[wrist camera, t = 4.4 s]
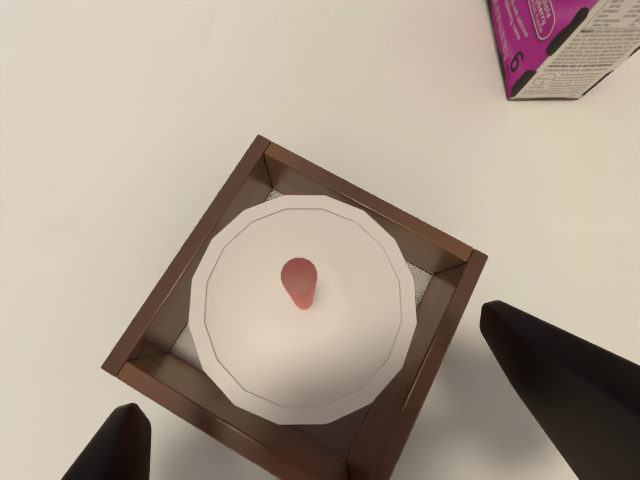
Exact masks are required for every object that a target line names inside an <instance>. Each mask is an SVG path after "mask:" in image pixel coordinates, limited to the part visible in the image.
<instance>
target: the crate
mask: <svg viewBox="0 0 640 480" xmlns="http://www.w3.org/2000/svg"><path fill="white" fill-rule="evenodd" d="M272 188H273V189H275V190H277V191H278V192H280V193H282V194H284V195H325V196H328V197H330V198H333V199H335V200H338V201H341V202H343V203H346V204H348V205H351V206H353V207H356V208H358V209H361V210H363V211H365V212H366V213H367V214H368V215H369V216H370V217H371V218H372V219H373V220H374V221H375V222H377V223H378V224H379V225H380V226H381V227H382V228H383V229H384V230H385V231H386V232H387V233H388V234H389V235H391V236H392V237H393V238H394V239H395V241H396V243H397V245H398V247H399V249H400V251H401V253H402V255H403V257H404V260H406V261H408V262H410V263H411V264H413V265H415V266H417V267H419V268H421V269H423V270H424V271H426V272H428V273H430V274H432V275H434V276H433V278H432V280H431V282H430V284H429V286H428V288H427V291H426V293H425V295H424V297H423V299H422V301H421V303H420V305H419V307H418V309H417V312H416V320H417V324H416V327H415V330H414V333H413V337H412V340H411V343H410V346H409V349H408V352H407V355H406V358H405V361H404V364H403V367H402V368H401V370H400V371H399V372H398V373H397V374H396V375H395V377H394V378H393V379H392V380H391V381H390V382H389V383H388V385H387V386H386V387H385V388H384V389H383V390H382V391H381V393H380V394H379V395H378V396H377V397H376V398H375V400H374V402H373V404H372V406H371V408H370V410H369V412H368V414H367V417H366V419H365V421H364V423H363V425H362V427H361V429H360V431H359V433H358V435H357V438H356V440H355V442H354V444H353V446H352V448H351V450H350V452H349V454H348V456H347V459H346V461H345V459H344V458H342V457H341V456H339V455H337V454H336V453H334V452H332V451H331V450H329V449H327V448H326V447H324V446H322V445H321V444H319V443H317V442H316V441H314V440H313V439H311V438H309V437H308V436H306V435H304V434H303V433H301V432H299V431H298V430H296V429H294V428H293V427H291V426H289V425H278V424H276V423H274V422H272V421H269V420H267V419H265V418H263V417H260V416H258V415H256V414H253V413H251V412H249V411H247V410H244V409H242V408H240V407H238V406H235V405H234V404H233V403H232V402H231V400H230V399H229V398H228V397H227V396H226V395H225V394H224V393H223V392H222V390H221V389H220V388H219V387H218V386H217V385H216V384H215V383H214V381H213V380H212V379H211V378H210V377H209V376H207V375H205V374H204V373H202V372H200V371H199V370H197V369H195V368H194V367H192V366H190V365H189V364H187V363H185V362H184V361H182V360H181V359H179V358H177V357H176V356H174V355H172V354H171V353H168V352H169V351H170V349H171V347H172V346H173V344H174V343H175V341H176V339H177V338H178V336H179V335H180V333H181V332H182V330H183V328H184V327H185V325H186V324H187V322H188V321H189V310H190V297H191V285H192V278H193V276H194V274H195V272H196V270H197V268H198V266H199V264H200V262H201V260H202V258H203V256H204V254H205V252H206V250H207V248H208V246H209V244H210V242H211V240H212V239H213V238H214V237H215V236H216V235H217V234H218V233H219V232H220V231H222V230H223V229H224V228H225V227H226V226H227V225H228V224H229V223H230V222H232V221H233V220H234V219H235V218H236V217H237V216H238V215H239V214H240V213H242V212H243V211H244V210H246V209H248V208H251V207H254V206H256V205H259V204H262V203H263V202H264V201H265V199H266V198H267V196H268V195H269V193H270V191H271V190H272ZM487 259H488V256H487V255H485V254H484V253H482V252H480V251H478V250H476V249H473V248H472V247H471V246H469V245H467V244H465V243H463V242H461V241H459V240H457V239H455V238H454V237H452V236H450V235H448V234H446V233H444V232H442V231H440V230H438V229H437V228H435V227H433V226H431V225H429V224H427V223H425V222H423V221H421V220H419V219H418V218H416V217H414V216H412V215H410V214H408V213H406V212H404V211H402V210H401V209H399V208H397V207H395V206H393V205H391V204H389V203H387V202H385V201H383V200H382V199H380V198H378V197H376V196H374V195H372V194H370V193H368V192H366V191H365V190H363V189H361V188H359V187H357V186H355V185H353V184H351V183H349V182H347V181H346V180H344V179H342V178H340V177H338V176H336V175H334V174H332V173H330V172H329V171H327V170H325V169H323V168H321V167H319V166H317V165H315V164H313V163H312V162H310V161H308V160H306V159H304V158H302V157H300V156H298V155H296V154H294V153H293V152H291V151H289V150H287V149H285V148H283V147H281V146H279V145H277V144H276V143H274V142H271V141H270V140H268V139H266V138H264V137H263V136H261V135H257V137H256V138H255V140H254V141H253V143H252V144H251V146H250V147H249V149H248V150H247V151H246V153H245V154H244V156H243V157H242V159H241V160H240V162H239V163H238V165H237V166H236V168H235V169H234V171H233V172H232V174H231V175H230V177H229V178H228V180H227V181H226V183H225V184H224V186H223V187H222V189H221V190H220V192H219V193H218V194H217V196H216V197H215V199H214V200H213V202H212V203H211V205H210V206H209V208H208V209H207V211H206V212H205V214H204V215H203V217H202V218H201V220H200V221H199V223H198V224H197V226H196V227H195V229H194V230H193V232H192V233H191V234H190V236H189V237H188V239H187V240H186V242H185V243H184V245H183V246H182V248H181V249H180V251H179V252H178V254H177V255H176V257H175V258H174V260H173V261H172V263H171V264H170V266H169V267H168V269H167V270H166V272H165V273H164V274H163V276H162V277H161V279H160V280H159V282H158V283H157V285H156V286H155V288H154V289H153V291H152V292H151V294H150V295H149V297H148V298H147V300H146V301H145V303H144V304H143V306H142V307H141V309H140V310H139V312H138V313H137V315H136V316H135V317H134V319H133V320H132V322H131V323H130V325H129V326H128V328H127V329H126V331H125V332H124V334H123V335H122V337H121V338H120V340H119V341H118V343H117V344H116V346H115V347H114V349H113V350H112V352H111V353H110V355H109V356H108V357H107V359H106V360H105V362H104V363H103V365H102V366H101V369H103V370H105V371H106V372H108V373H109V374H111V375H113V376H114V377H117V378H118V379H119V380H121V381H123V382H124V383H126V384H127V385H129V386H131V387H132V388H134V389H135V390H137V391H139V392H140V393H142V394H143V395H145V396H147V397H148V398H150V399H151V400H153V401H155V402H156V403H158V404H159V405H161V406H163V407H164V408H166V409H167V410H169V411H171V412H172V413H174V414H175V415H177V416H179V417H180V418H182V419H184V420H185V421H187V422H188V423H190V424H192V425H193V426H195V427H196V428H198V429H200V430H201V431H203V432H204V433H206V434H208V435H209V436H211V437H212V438H214V439H216V440H217V441H219V442H220V443H222V444H224V445H225V446H227V447H228V448H230V449H232V450H233V451H235V452H236V453H238V454H240V455H241V456H243V457H244V458H246V459H248V460H249V461H251V462H252V463H254V464H256V465H257V466H259V467H261V468H262V469H264V470H265V471H267V472H269V473H270V474H272V475H273V476H275V477H277V478H278V479H280V480H390V478H391V476H392V473H393V471H394V469H395V467H396V464H397V462H398V460H399V458H400V455H401V453H402V451H403V448H404V446H405V444H406V442H407V439H408V437H409V435H410V433H411V430H412V428H413V426H414V424H415V421H416V419H417V417H418V415H419V412H420V410H421V408H422V406H423V403H424V401H425V399H426V396H427V394H428V392H429V390H430V387H431V385H432V383H433V381H434V378H435V376H436V374H437V372H438V369H439V367H440V365H441V363H442V360H443V358H444V356H445V354H446V351H447V349H448V347H449V344H450V342H451V340H452V338H453V335H454V333H455V331H456V329H457V326H458V324H459V322H460V320H461V317H462V315H463V313H464V311H465V308H466V306H467V304H468V301H469V299H470V297H471V295H472V292H473V290H474V288H475V286H476V283H477V281H478V279H479V277H480V274H481V272H482V270H483V268H484V265H485V263H486V261H487Z"/></svg>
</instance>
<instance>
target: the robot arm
mask: <svg viewBox="0 0 640 480" xmlns="http://www.w3.org/2000/svg"><path fill="white" fill-rule="evenodd" d="M480 330H481V333H482V335H483V337H484V338H485V340H486V342H487V344H488V345H489V347H490V349H491V351H492V352H493V354H494V356H495V358H496V359H497V361H498V363H499V365H500V366H501V368H502V370H503V371H504V373H505V375H506V377H507V378H508V380H509V382H510V383H511V385H512V386H513V388H514V389H515V391H516V392H517V394H518V395H519V397H520V398H521V399H522V401H523V402H524V404H525V405H526V406H527V408H528V409H529V410H530V412H531V413H532V415H533V416H534V417H535V419H536V420H537V422H538V423H539V424H540V426H541V427H542V429H543V430H544V431H545V433H546V434H547V436H548V437H549V438H550V440H551V441H552V442H553V444H554V445H555V447H556V448H557V449H558V451H559V452H560V454H561V455H562V456H563V458H564V459H565V461H566V462H567V463H568V465H569V466H570V468H571V469H572V470H573V472H574V473H575V474H576V476H577V477H578V479H579V480H640V365H637V364H635V363H633V362H631V361H629V360H627V359H625V358H622V357H620V356H618V355H616V354H614V353H612V352H610V351H607V350H605V349H603V348H601V347H599V346H597V345H595V344H592V343H590V342H588V341H586V340H584V339H582V338H579V337H577V336H575V335H573V334H571V333H569V332H567V331H564V330H562V329H560V328H558V327H556V326H554V325H552V324H549V323H547V322H545V321H543V320H541V319H539V318H537V317H534V316H532V315H530V314H528V313H526V312H524V311H522V310H519V309H517V308H515V307H513V306H511V305H509V304H507V303H504V302H502V301H499V300H495V301H491V302H488V303H485V304H483V306H482V309H481V317H480ZM150 452H151V424H150V421H149V419H148V418H147V417H146V416H145V414H144V413H143V412H142V410H141V409H140V408H139V406H138V405H137V404H135V403H130V404H126V405H123V406H119V407H117V408H116V409H115V410H114V411H113V412H112V413H111V414H110V416H109V417H108V418H107V420H106V421H105V422H104V424H103V425H102V426H101V428H100V429H99V430H98V432H97V433H96V434H95V435H94V437H93V438H92V439H91V441H90V442H89V443H88V445H87V446H86V447H85V449H84V450H83V451H82V453H81V454H80V455H79V456H78V458H77V459H76V460H75V462H74V463H73V464H72V466H71V467H70V468H69V470H68V471H67V472H66V474H65V475H64V476H63V478H62V479H61V480H149V477H150Z"/></svg>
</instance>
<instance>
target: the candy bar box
mask: <svg viewBox="0 0 640 480" xmlns="http://www.w3.org/2000/svg"><path fill="white" fill-rule="evenodd" d="M489 5H490V9H491V14H492V19H493V24H494V29H495V33H496V39H497V43H498V48H499V53H500V58H501V62H502V67H503V72H504V78H505V82H506V87H507V92H508V97H509V99H510V100H531V99H569V98H581V97H582V96H583V95H585V94H586V93H587V92H588V91H589V90H591V89H592V88H593V87H594V86H596V85H597V84H598V83H599V82H600V81H602V80H603V79H604V78H605V77H606V76H608V75H609V74H610V73H611V72H612V71H614V70H615V69H616V68H617V67H618V66H619V65H621V64H622V63H623V62H624V61H626V60H627V59H628V58H629V57H630V56H632V55H633V54H634V53H635V52H636V51H637V50H639V49H640V0H489Z"/></svg>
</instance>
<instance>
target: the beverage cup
mask: <svg viewBox="0 0 640 480" xmlns="http://www.w3.org/2000/svg"><path fill="white" fill-rule="evenodd" d="M416 324H417V320H416V305H415V290H414V278H413V276H412V274H411V272H410V270H409V268H408V266H407V264H406V262H405V260H404V257H403V255H402V253H401V251H400V249H399V247H398V245H397V243H396V241H395V239H394V238H393V237H392V236H391V235H389V234H388V233H387V232H386V231H385V230H384V229H383V228H382V227H381V226H380V225H379V224H378V223H377V222H375V221H374V220H373V219H372V218H371V217H370V216H369V215H368V214H367V213H366V212H365V211H363V210H361V209H358V208H356V207H353V206H351V205H348V204H346V203H343V202H341V201H338V200H335V199H333V198H330V197H328V196H325V195H283V196H280V197H278V198H275V199H272V200H270V201H267V202H264V203H262V204H259V205H256V206H254V207H251V208H248V209H246V210H244V211H243V212H242V213H240V214H239V215H238V216H237V217H236V218H235V219H234V220H233V221H232V222H230V223H229V224H228V225H227V226H226V227H225V228H224V229H223V230H222V231H220V232H219V233H218V234H217V235H216V236H215V237H214V238H213V239H212V240H211V242H210V244H209V246H208V248H207V250H206V252H205V254H204V256H203V258H202V260H201V262H200V264H199V266H198V268H197V270H196V272H195V274H194V276H193V278H192V285H191V297H190V310H189V322H188V325H189V329H190V332H191V335H192V338H193V341H194V344H195V347H196V350H197V353H198V356H199V359H200V362H201V365H202V368H203V370H204V371H205V372H206V374H207V375H208V376H209V377H210V378H211V379H212V380H213V381H214V383H215V384H216V385H217V386H218V387H219V388H220V389H221V390H222V392H223V393H224V394H225V395H226V396H227V397H228V398H229V399H230V400H231V402H232V403H233V404H234V405H235V406H238V407H240V408H242V409H244V410H247V411H249V412H251V413H253V414H256V415H258V416H260V417H263V418H265V419H267V420H269V421H272V422H274V423H276V424H278V425H296V424H328V423H331V422H333V421H335V420H337V419H339V418H341V417H343V416H345V415H348V414H350V413H352V412H354V411H356V410H358V409H360V408H362V407H365V406H367V405H369V404H371V403H372V402H373V401H374V399H375V398H376V397H377V396H378V395H379V394H380V393H381V391H382V390H383V389H384V388H385V387H386V386H387V385H388V383H389V382H390V381H391V380H392V379H393V378H394V377H395V375H396V374H397V373H398V372H399V371H400V370H401V368H402V367H403V364H404V361H405V358H406V355H407V352H408V349H409V346H410V343H411V340H412V337H413V333H414V330H415V327H416Z"/></svg>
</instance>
